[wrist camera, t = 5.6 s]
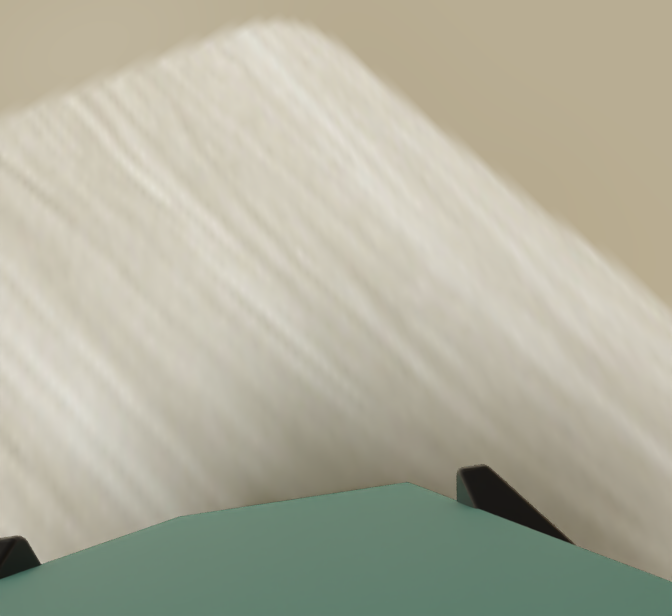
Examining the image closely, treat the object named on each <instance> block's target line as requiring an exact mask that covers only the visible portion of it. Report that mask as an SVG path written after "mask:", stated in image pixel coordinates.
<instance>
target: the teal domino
mask: <svg viewBox="0 0 672 616" xmlns="http://www.w3.org/2000/svg"><path fill="white" fill-rule="evenodd" d="M0 616H672V582H670V581H668V580H665V579H662V578H660V577H657V576H655V575H652V574H649V573H647V572H644V571H641V570H639V569H636V568H633V567H631V566H628V565H626V564H623V563H620V562H618V561H615V560H612V559H610V558H607V557H604V556H602V555H599V554H596V553H594V552H591V551H589V550H586V549H583V548H581V547H578V546H575V545H573V544H570V543H567V542H565V541H562V540H560V539H557V538H554V537H552V536H549V535H546V534H544V533H541V532H538V531H536V530H533V529H530V528H528V527H525V526H523V525H520V524H517V523H515V522H512V521H509V520H507V519H504V518H501V517H499V516H496V515H494V514H491V513H488V512H486V511H483V510H480V509H475V508H472V507H469V506H467V505H464V504H462V503H459V502H457V500H454V499H451V498H449V497H446V496H443V495H441V494H438V493H435V492H433V491H430V490H427V489H425V488H422V487H420V486H417V485H414V484H412V483H409V482H405V483H399V484H392V485H385V486H379V487H372V488H366V489H359V490H352V491H346V492H339V493H333V494H326V495H319V496H313V497H306V498H299V499H293V500H286V501H280V502H273V503H266V504H260V505H253V506H247V507H240V508H233V509H227V510H220V511H213V512H207V513H200V514H194V515H187V516H180V517H177V518H174V519H171V520H168V521H165V522H163V523H160V524H157V525H154V526H151V527H148V528H145V529H142V530H139V531H137V532H134V533H131V534H128V535H125V536H122V537H119V538H116V539H114V540H111V541H108V542H105V543H102V544H99V545H96V546H93V547H90V548H88V549H85V550H82V551H79V552H76V553H73V554H70V555H67V556H64V557H62V558H59V559H56V560H53V561H50V562H47V563H44V564H41V565H40V566H37V567H34V568H31V569H28V570H25V571H22V572H19V573H17V574H14V575H11V576H8V577H5V578H2V579H0Z"/></svg>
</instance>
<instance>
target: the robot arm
mask: <svg viewBox="0 0 672 616" xmlns="http://www.w3.org/2000/svg"><path fill="white" fill-rule="evenodd" d="M457 502H459V503H462V504H464V505H467V506H469V507H472V508H475V509H480V510H483V511H486V512H488V513H491V514H494V515H496V516H499V517H501V518H504V519H507V520H509V521H512V522H515V523H517V524H520V525H523V526H525V527H528V528H530V529H533V530H536V531H538V532H541V533H544V534H546V535H549V536H552V537H554V538H557V539H560V540H562V541H565V542H567V543H570V544H573V545H575V544H574V543H573V542H572V541H571V540H570V539H569V538H568V537H566V536H565V535H564V534H563V533H562V532H561V531H560V530H559V529H558V528H556V527H555V526H554V525H553V524H552V523H551V522H550V521H549V520H548V519H547V518H545V517H544V516H543V515H542V514H541V513H540V512H539V511H538V510H537V509H535V508H534V507H533V506H532V505H531V504H530V503H529V502H528V501H527V500H525V499H524V498H523V497H522V496H521V495H520V494H519V493H518V492H517V491H516V490H514V489H513V488H512V487H511V486H510V485H509V484H508V483H507V482H506V481H504V480H503V479H502V478H501V477H500V476H499V475H498V474H497V473H496V472H495V471H493V470H492V469H491V468H490V467H489V466H487V465H484V464H480V465H474V466H467V467H461V468H459V469H458V471H457ZM575 546H576V545H575ZM40 565H41V563H40V562H39V560H38V558H37V556H36V555H35V553H34V551H33V550H32V548H31V546H30V545H29V543H28V541H27V540H26V539H25V538H23V537H22V536H11V537H4V538H0V579H2V578H5V577H8V576H11V575H14V574H17V573H19V572H22V571H25V570H28V569H31V568H34V567H37V566H40Z"/></svg>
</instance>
